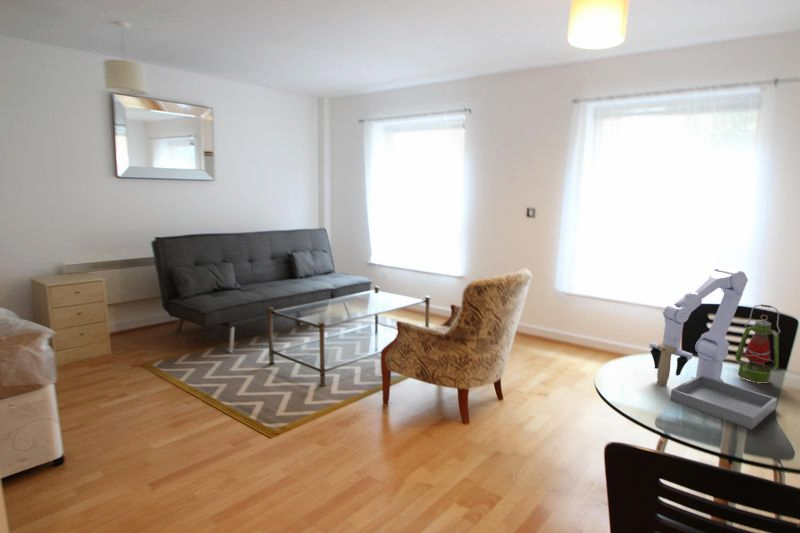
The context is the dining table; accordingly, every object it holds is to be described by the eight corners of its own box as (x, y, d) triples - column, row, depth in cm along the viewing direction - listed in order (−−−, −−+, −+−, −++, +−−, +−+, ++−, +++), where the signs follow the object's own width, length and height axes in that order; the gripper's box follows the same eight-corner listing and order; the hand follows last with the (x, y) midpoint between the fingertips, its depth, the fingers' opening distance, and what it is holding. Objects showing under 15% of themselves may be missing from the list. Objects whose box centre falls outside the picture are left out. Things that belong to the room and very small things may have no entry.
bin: (697, 384, 181) (699, 374, 181) (775, 409, 163) (777, 398, 162) (669, 400, 167) (671, 389, 166) (751, 429, 148) (753, 417, 147)
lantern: (730, 377, 190) (743, 303, 185) (733, 369, 199) (745, 299, 193) (774, 387, 182) (788, 311, 176) (775, 379, 190) (789, 306, 184)
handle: (668, 389, 176) (673, 350, 174) (650, 383, 181) (655, 345, 178) (673, 386, 179) (679, 347, 177) (655, 380, 184) (661, 342, 182)
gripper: (647, 333, 182) (642, 367, 185) (688, 344, 171) (683, 380, 173) (656, 330, 187) (651, 363, 189) (696, 341, 175) (691, 376, 178)
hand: (667, 371), depth 181 cm, fingers open, 7 cm apart
